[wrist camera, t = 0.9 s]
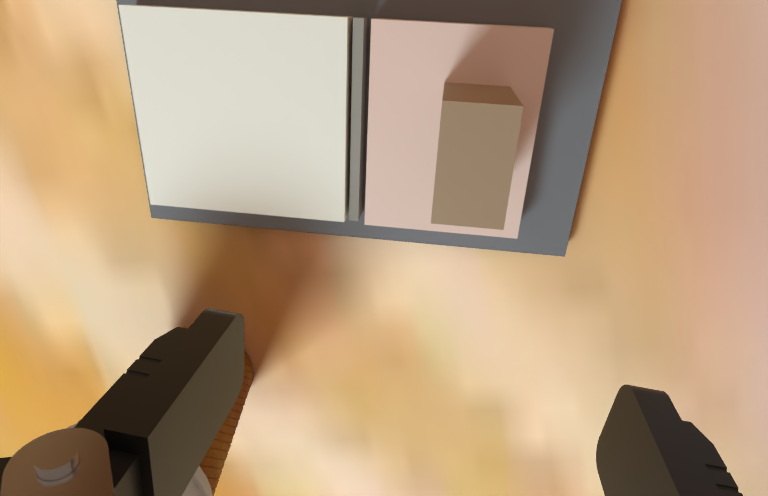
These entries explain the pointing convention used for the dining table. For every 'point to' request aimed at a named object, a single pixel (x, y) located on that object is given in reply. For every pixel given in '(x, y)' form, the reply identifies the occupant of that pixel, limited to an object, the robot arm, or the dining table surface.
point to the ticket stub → (452, 124)
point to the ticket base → (552, 125)
